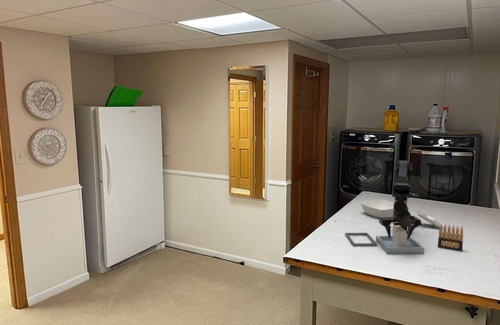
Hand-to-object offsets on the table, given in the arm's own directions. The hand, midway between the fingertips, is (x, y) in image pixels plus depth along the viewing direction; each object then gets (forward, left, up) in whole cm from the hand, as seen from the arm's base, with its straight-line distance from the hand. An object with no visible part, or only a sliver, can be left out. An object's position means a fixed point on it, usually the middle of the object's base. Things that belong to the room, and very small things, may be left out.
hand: (399, 238), depth 183 cm
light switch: (-30, -33, -5) cm, 45 cm away
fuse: (0, 0, -4) cm, 4 cm away
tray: (0, 0, -5) cm, 5 cm away
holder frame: (+16, -10, -5) cm, 19 cm away
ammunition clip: (-24, +2, -5) cm, 25 cm away
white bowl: (-10, -56, -5) cm, 57 cm away
